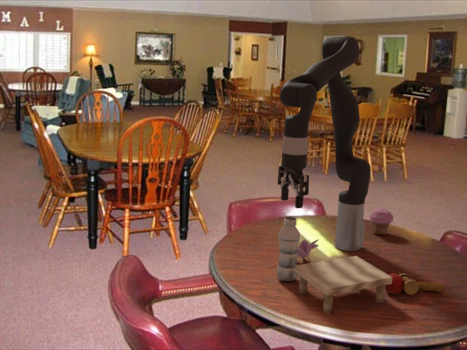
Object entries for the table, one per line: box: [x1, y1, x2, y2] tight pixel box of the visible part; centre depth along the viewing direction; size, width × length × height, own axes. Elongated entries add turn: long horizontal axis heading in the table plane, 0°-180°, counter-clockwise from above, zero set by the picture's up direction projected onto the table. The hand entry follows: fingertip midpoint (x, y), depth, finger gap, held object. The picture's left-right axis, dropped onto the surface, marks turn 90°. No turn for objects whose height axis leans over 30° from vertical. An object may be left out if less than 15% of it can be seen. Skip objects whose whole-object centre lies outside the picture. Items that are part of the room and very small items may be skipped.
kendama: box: [385, 273, 444, 296], centre depth 171 cm, size 8×6×18 cm
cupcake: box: [369, 207, 394, 236], centre depth 220 cm, size 9×9×10 cm
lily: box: [297, 239, 320, 263], centre depth 188 cm, size 12×12×10 cm
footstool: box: [295, 255, 392, 315], centre depth 165 cm, size 22×17×8 cm
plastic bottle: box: [276, 216, 301, 282], centre depth 174 cm, size 6×7×20 cm
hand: (291, 203), depth 171 cm, fingers open, 8 cm apart
